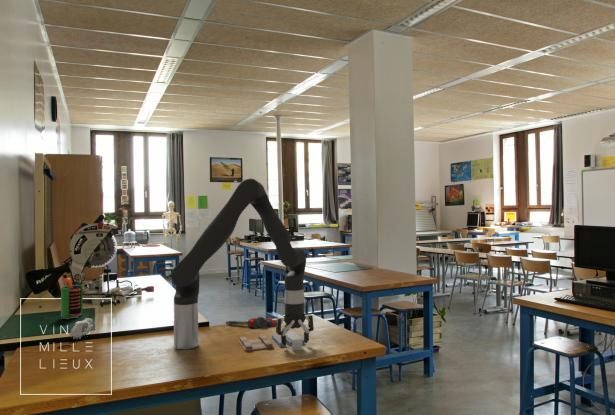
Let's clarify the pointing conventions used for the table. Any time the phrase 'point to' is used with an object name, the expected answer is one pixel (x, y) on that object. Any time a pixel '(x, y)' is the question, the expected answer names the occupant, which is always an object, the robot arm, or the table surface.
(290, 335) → the block
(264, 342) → the cradle
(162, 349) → the table surface
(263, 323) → the valve
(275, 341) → the grey channel bracket
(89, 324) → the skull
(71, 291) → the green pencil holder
